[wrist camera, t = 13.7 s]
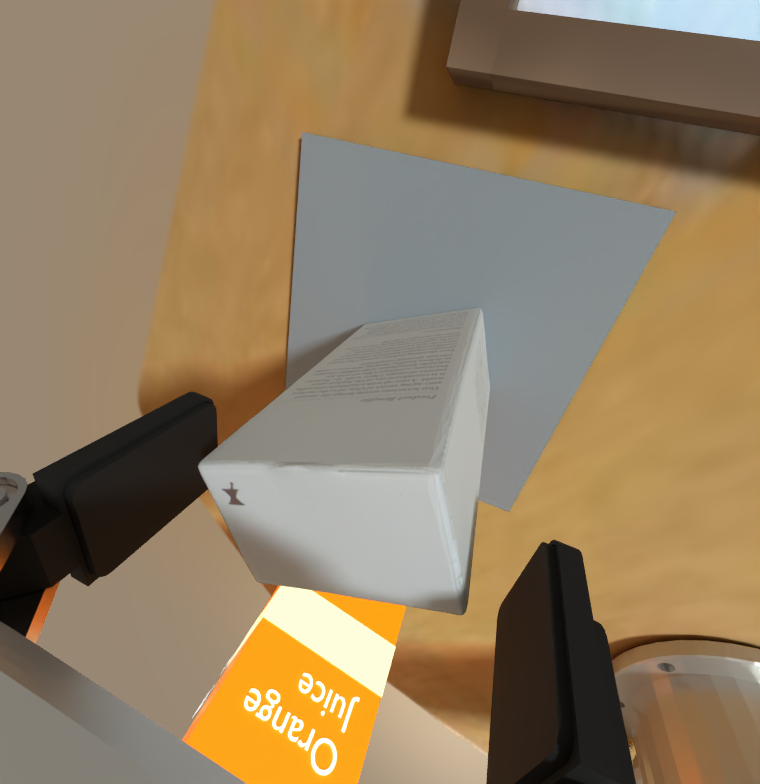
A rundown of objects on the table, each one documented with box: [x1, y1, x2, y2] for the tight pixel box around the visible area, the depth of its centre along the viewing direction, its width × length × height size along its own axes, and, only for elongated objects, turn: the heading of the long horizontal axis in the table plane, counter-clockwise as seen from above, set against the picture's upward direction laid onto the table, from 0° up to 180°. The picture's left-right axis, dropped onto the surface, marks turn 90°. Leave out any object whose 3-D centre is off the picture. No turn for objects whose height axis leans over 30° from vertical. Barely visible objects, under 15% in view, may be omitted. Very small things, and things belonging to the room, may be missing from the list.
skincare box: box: [198, 307, 490, 615], centre depth 13 cm, size 6×4×12 cm
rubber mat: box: [285, 132, 676, 512], centre depth 18 cm, size 16×15×1 cm
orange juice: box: [182, 586, 406, 784], centre depth 20 cm, size 8×9×20 cm
